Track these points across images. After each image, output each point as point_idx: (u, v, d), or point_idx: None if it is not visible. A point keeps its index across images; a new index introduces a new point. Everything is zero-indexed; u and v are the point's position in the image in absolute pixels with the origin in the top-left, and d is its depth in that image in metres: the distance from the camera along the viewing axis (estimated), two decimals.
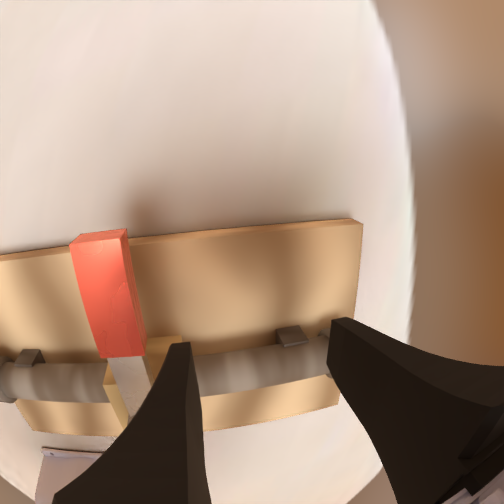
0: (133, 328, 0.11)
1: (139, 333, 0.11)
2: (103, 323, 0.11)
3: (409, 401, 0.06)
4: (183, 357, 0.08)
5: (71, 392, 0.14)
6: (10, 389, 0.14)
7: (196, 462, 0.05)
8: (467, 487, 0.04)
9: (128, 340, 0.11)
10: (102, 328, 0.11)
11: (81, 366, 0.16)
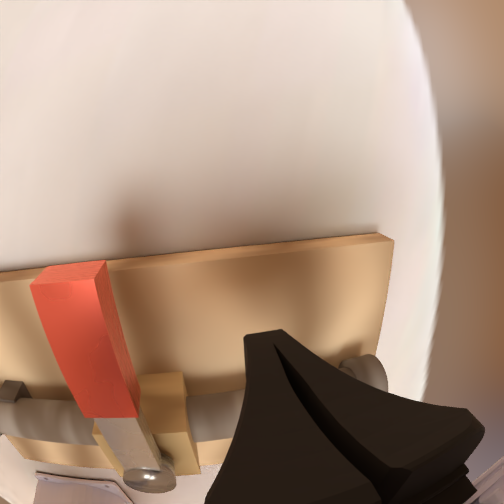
0: (121, 389, 0.08)
1: (130, 393, 0.08)
2: (83, 381, 0.08)
3: (322, 433, 0.06)
4: (266, 346, 0.09)
5: (59, 434, 0.11)
6: None
7: None
8: None
9: (116, 401, 0.08)
10: (82, 387, 0.08)
11: (68, 405, 0.12)
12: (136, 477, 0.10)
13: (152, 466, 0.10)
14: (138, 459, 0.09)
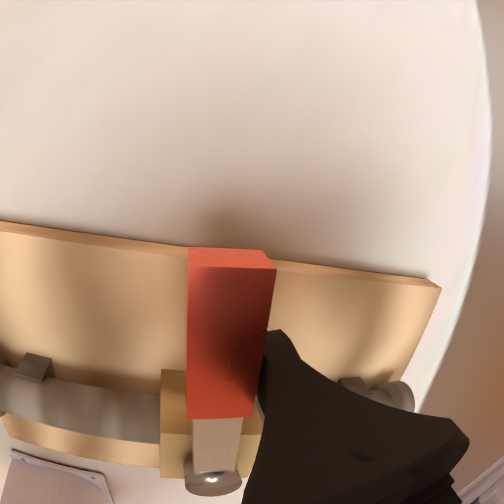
0: (251, 386, 0.08)
1: (254, 391, 0.08)
2: (209, 380, 0.08)
3: None
4: (284, 343, 0.09)
5: (98, 427, 0.11)
6: (5, 404, 0.10)
7: None
8: (467, 487, 0.04)
9: (237, 400, 0.08)
10: (205, 385, 0.08)
11: (114, 395, 0.12)
12: (203, 480, 0.10)
13: (228, 468, 0.10)
14: (217, 461, 0.09)
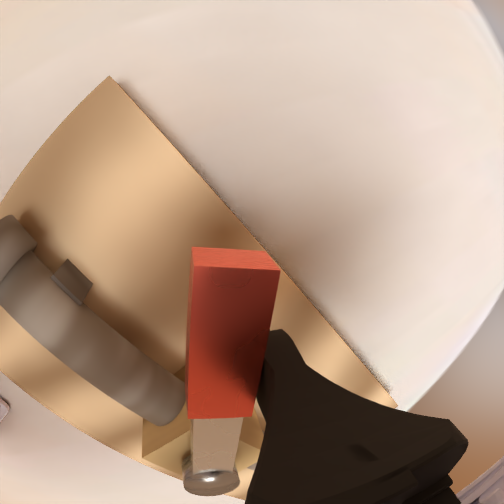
0: (252, 386, 0.08)
1: (255, 391, 0.08)
2: (211, 379, 0.08)
3: None
4: (286, 342, 0.09)
5: (120, 385, 0.10)
6: (17, 300, 0.08)
7: None
8: (467, 487, 0.04)
9: (238, 400, 0.08)
10: (207, 385, 0.08)
11: (149, 361, 0.12)
12: (201, 480, 0.10)
13: (226, 468, 0.10)
14: (216, 461, 0.09)
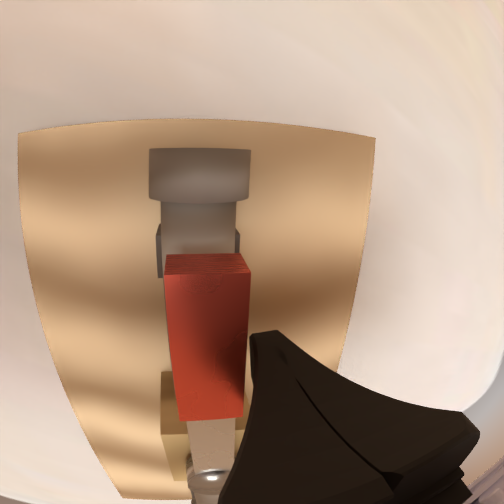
0: (238, 388, 0.08)
1: None
2: (196, 383, 0.08)
3: None
4: (273, 345, 0.09)
5: None
6: (207, 230, 0.09)
7: None
8: (467, 487, 0.04)
9: (226, 401, 0.08)
10: (193, 388, 0.08)
11: None
12: (204, 480, 0.10)
13: (227, 467, 0.10)
14: (216, 461, 0.10)
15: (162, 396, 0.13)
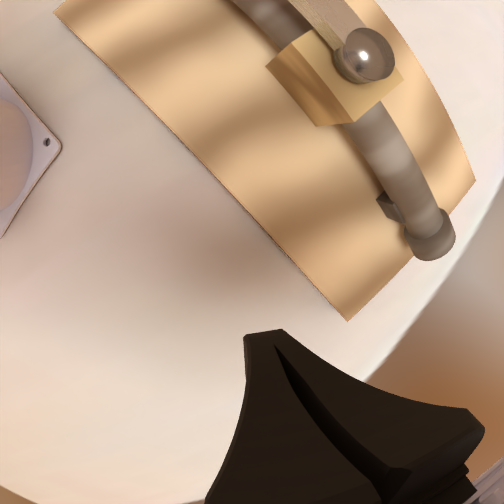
0: None
1: None
2: None
3: None
4: (266, 346, 0.09)
5: None
6: None
7: None
8: None
9: None
10: None
11: None
12: (357, 46, 0.09)
13: (357, 21, 0.09)
14: (341, 14, 0.09)
15: (276, 56, 0.12)
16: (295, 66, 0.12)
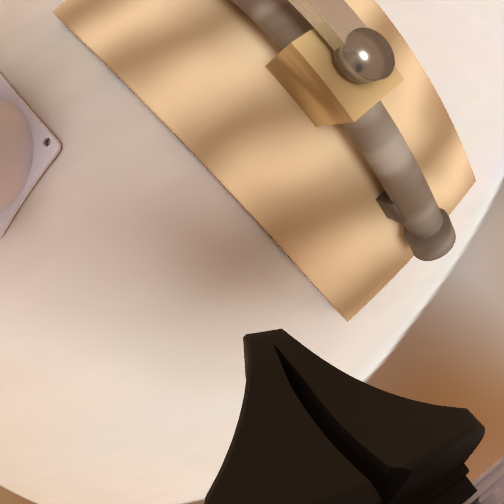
0: None
1: None
2: None
3: None
4: (266, 346, 0.09)
5: None
6: None
7: None
8: None
9: None
10: None
11: None
12: (357, 46, 0.09)
13: (357, 21, 0.09)
14: (341, 14, 0.09)
15: (276, 56, 0.12)
16: (295, 66, 0.12)
